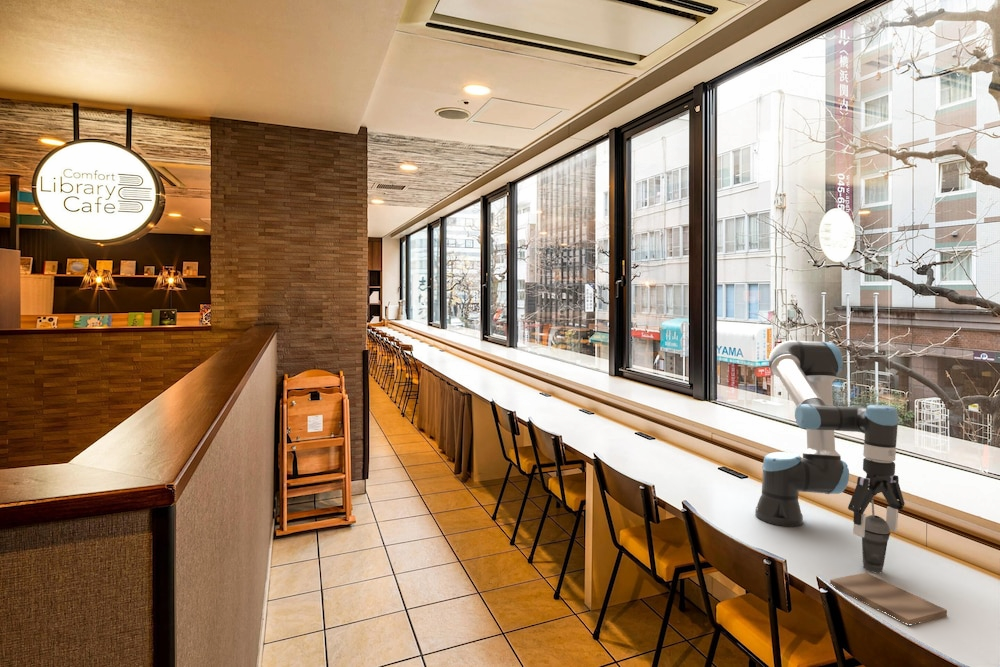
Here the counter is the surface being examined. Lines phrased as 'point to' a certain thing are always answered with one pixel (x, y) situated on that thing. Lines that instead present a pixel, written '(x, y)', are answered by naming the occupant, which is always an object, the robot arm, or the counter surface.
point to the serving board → (889, 598)
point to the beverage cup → (874, 542)
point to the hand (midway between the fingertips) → (875, 532)
